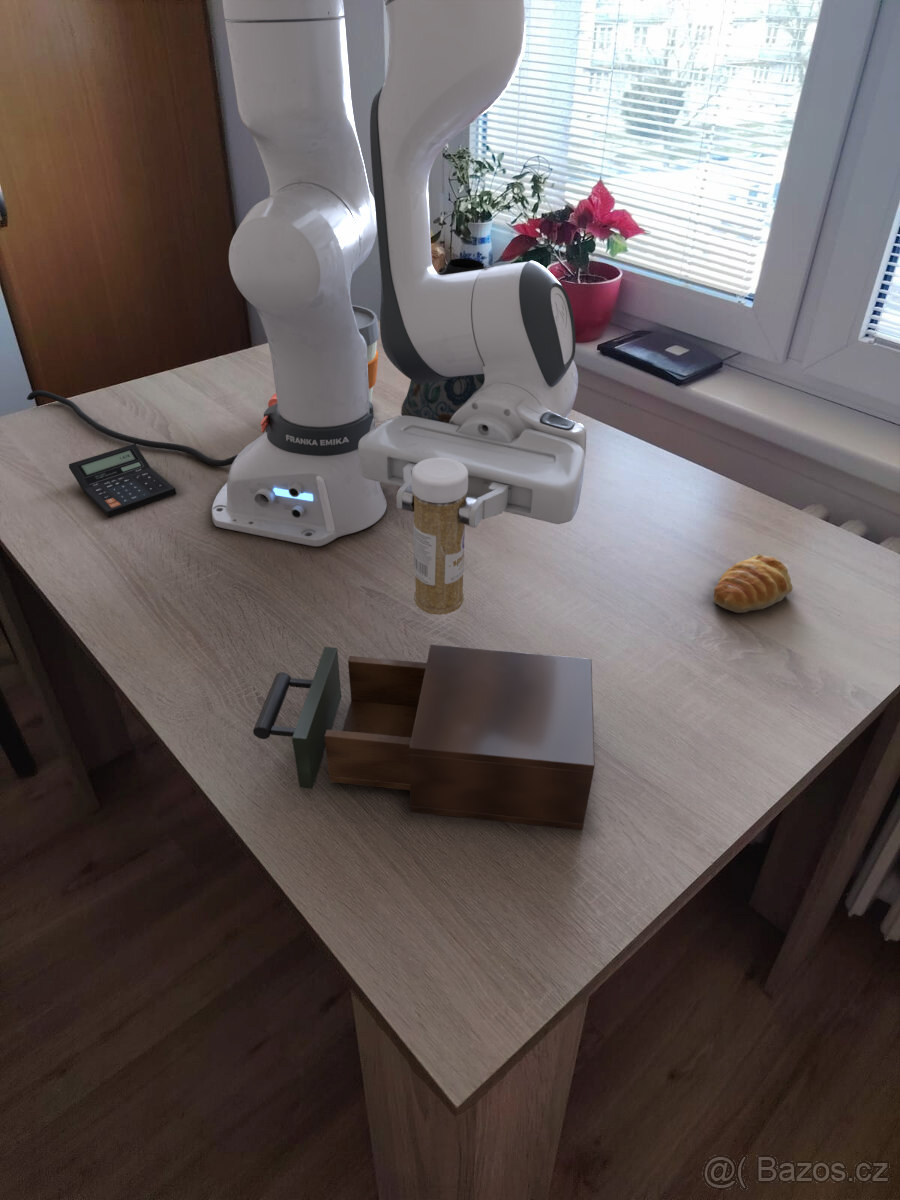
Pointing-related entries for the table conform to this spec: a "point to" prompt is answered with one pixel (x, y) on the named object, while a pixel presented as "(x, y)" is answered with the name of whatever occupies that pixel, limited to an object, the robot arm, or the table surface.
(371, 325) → the reusable coffee cup
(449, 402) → the beer stein
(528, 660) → the cabinet
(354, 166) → the robot arm
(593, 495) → the table surface
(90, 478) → the calculator
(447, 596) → the sprinkles bottle
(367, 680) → the drawer
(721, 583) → the pastry
